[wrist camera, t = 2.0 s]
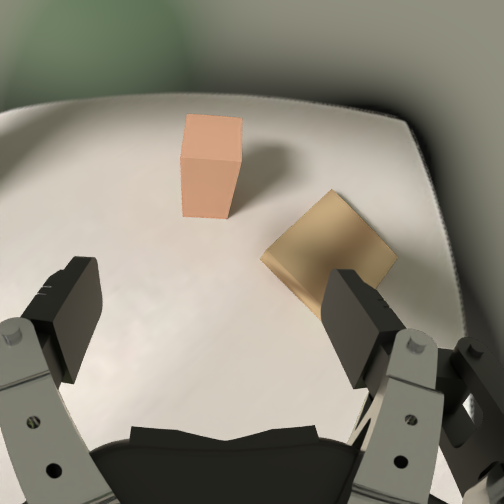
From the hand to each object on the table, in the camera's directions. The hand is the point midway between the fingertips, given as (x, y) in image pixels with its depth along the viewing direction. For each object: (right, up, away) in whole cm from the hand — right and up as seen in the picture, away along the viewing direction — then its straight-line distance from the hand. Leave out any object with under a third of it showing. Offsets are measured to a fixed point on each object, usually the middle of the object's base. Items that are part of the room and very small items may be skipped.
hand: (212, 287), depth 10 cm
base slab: (+8, 0, +19) cm, 20 cm away
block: (-3, +6, +18) cm, 20 cm away
